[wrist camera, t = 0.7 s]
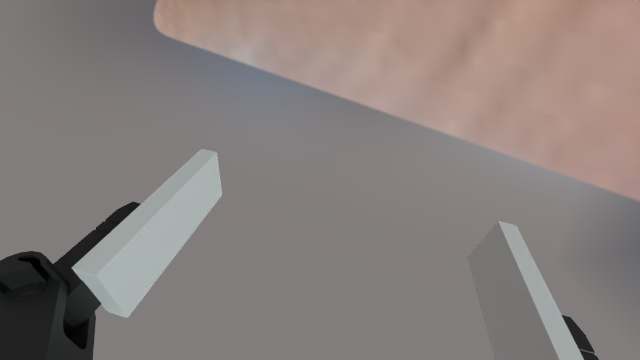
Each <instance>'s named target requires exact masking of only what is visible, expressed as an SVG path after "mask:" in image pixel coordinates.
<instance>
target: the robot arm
mask: <svg viewBox="0 0 640 360" xmlns="http://www.w3.org/2000/svg"><path fill="white" fill-rule="evenodd" d="M221 196H222V189H221V182H220V174H219V167H218V159H217V153H216V152H213V151H209V150H205V149H201V150H200V151H199V152H197V154H196V155H194V156H193V157H192V158H191V159H190V160H189V161H188V162H187V163H185V164H184V165H183V166H182V167H181V168H180V169H179V170H178V171H177V172H176V173H175V174H173V175H172V176H171V177H170V178H169V179H168V180H167V181H166V182H165V183H164V184H163V185H162V186H160V187H159V188H158V189H157V190H156V191H155V192H154V193H153V194H152V195H150V196H149V197H148V198H147V199H146V200H145V201H144V202H143V203H142V204H139V203H136V202H132V203H129V204H127V205H125V206H123V207H121V208H119V209H118V210H116V211H115V212H114V213H113V214H112V215H110V216H109V217H108V218H107V219H106V221H105V222H102V223H101V224H100V225H99V226H98V227H96V230H93V231H92V232H91V233H90V234H88V235H87V236H86V237H85V238H84V239H82V240H81V241H80V242H79V243H78V244H77V245H76V246H74V247H73V248H72V249H71V250H70V251H68V252H67V253H66V254H65V255H64V256H63V257H61V258H60V259H59V260H58V261H57V262H55V263H54V264H52V263H51V262H50V261H49V260H48V259H47V257H46V256H44V255H43V254H42V253H39V252H34V251H29V252H21V253H18V254H15V255H12V256H9V257H6V258H5V259H3V260H1V261H0V360H92V359H93V347H94V334H95V320H96V316H95V312H94V311H95V310H96V309H97V308H98V307H99V306H100V305H102V306H103V307H104V308H105V309H106V311H107V312H110V313H113V314H116V315H120V316H123V317H126V318H128V317H129V315H130V314H131V313H132V311H133V310H134V309H135V307H136V306H137V305H138V304H139V302H140V301H141V300H142V298H143V297H144V295H145V294H146V293H147V292H148V291H149V289H150V288H151V287H152V285H153V284H154V283H155V281H156V280H157V279H158V277H159V276H160V275H161V274H162V272H163V271H164V270H165V268H166V267H167V266H168V265H169V263H170V262H171V261H172V259H173V258H174V257H175V255H176V254H177V253H178V252H179V250H180V249H181V248H182V246H183V245H184V244H185V242H186V241H187V240H188V239H189V237H190V236H191V235H192V233H193V232H194V231H195V229H196V228H197V227H198V226H199V224H200V223H201V222H202V220H203V219H204V218H205V216H206V215H207V214H208V213H209V211H210V210H211V208H212V207H213V206H214V205H215V203H216V202H217V201H218V199H219V198H220V197H221ZM468 262H469V266H470V269H471V273H472V277H473V280H474V283H475V287H476V291H477V295H478V298H479V302H480V305H481V309H482V312H483V317H484V320H485V324H486V327H487V331H488V334H489V338H490V342H491V346H492V349H493V353H494V357H495V360H598V358H597V356H595V355H594V350H593V348H592V347H591V345H590V343H589V341H588V339H587V338H586V335H585V334H584V333H583V332H582V331H581V329H580V328H579V327H578V326H577V325H576V323H575V322H574V321H573V320H572V319H571V317H567V316H564V315H561V313H560V311H559V309H558V308H557V306H556V303H555V301H554V299H553V297H552V295H551V294H550V292H549V290H548V288H547V286H546V284H545V282H544V280H543V278H542V276H541V274H540V272H539V270H538V268H537V266H536V264H535V262H534V260H533V258H532V256H531V254H530V252H529V250H528V248H527V246H526V244H525V242H524V240H523V238H522V236H521V234H520V232H519V230H518V228H517V226H516V225H512V224H508V223H504V222H500V221H498V222H497V223H496V224H495V226H494V227H493V228H492V229H491V230H490V231H489V233H488V234H487V235H486V236H485V238H484V239H483V240H482V241H481V242H480V243H479V244H478V246H477V247H476V248H475V249H474V250H473V251H472V253H471V254H470V255H469V256H468Z"/></svg>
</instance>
